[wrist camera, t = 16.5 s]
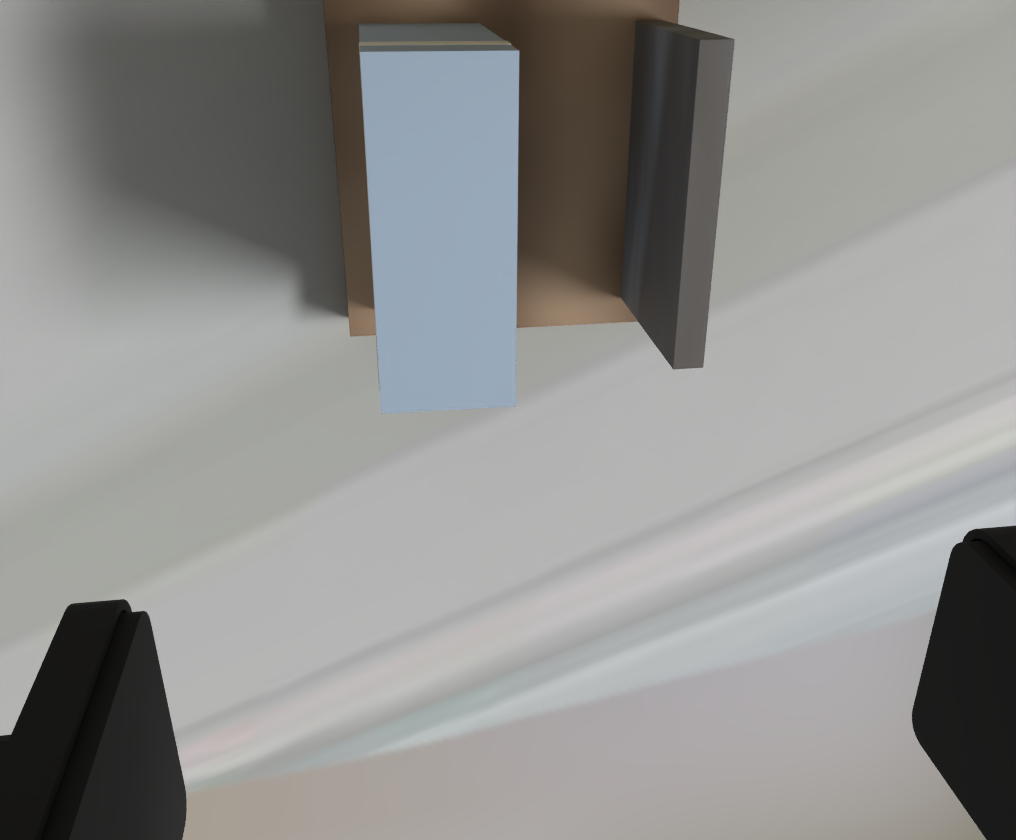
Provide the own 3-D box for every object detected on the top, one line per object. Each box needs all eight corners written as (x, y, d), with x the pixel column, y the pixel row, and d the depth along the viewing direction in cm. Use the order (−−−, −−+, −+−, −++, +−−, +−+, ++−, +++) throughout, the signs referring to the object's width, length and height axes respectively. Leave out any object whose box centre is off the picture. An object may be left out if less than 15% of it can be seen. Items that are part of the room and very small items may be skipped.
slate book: (479, 22, 32) (520, 49, 25) (481, 305, 37) (516, 406, 29) (358, 22, 32) (358, 51, 24) (375, 310, 36) (380, 414, 28)
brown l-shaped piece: (663, -14, 35) (755, 0, 27) (643, 303, 40) (714, 394, 32) (324, -12, 33) (314, 4, 25) (350, 318, 39) (349, 417, 31)
